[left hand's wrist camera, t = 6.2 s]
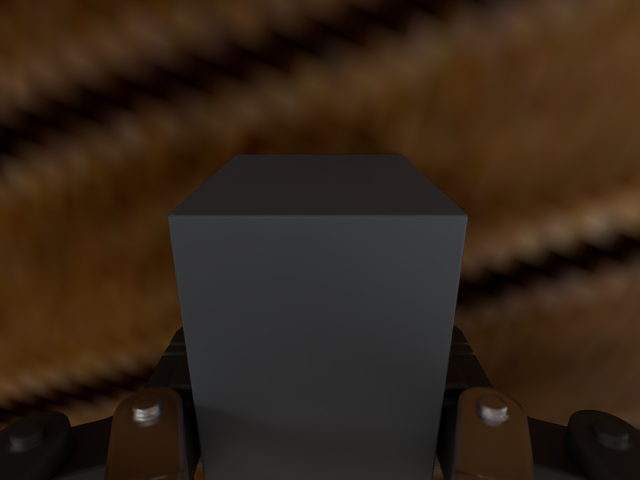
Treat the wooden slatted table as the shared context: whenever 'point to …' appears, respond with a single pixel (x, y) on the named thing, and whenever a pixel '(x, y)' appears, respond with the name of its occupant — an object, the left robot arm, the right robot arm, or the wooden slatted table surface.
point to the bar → (318, 315)
